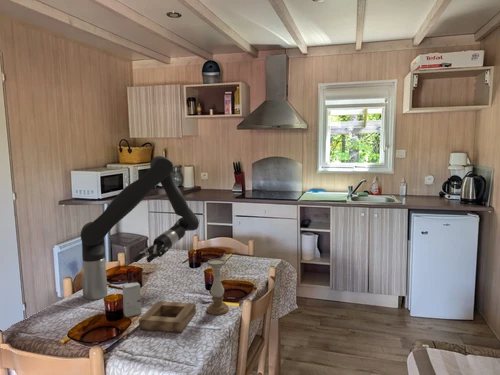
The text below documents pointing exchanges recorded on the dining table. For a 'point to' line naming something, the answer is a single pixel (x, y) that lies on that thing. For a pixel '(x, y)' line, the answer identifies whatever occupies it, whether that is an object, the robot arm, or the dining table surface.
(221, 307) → the candle holder
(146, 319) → the walnut holder
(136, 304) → the skincare box
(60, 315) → the dining table surface
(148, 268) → the dining table surface
